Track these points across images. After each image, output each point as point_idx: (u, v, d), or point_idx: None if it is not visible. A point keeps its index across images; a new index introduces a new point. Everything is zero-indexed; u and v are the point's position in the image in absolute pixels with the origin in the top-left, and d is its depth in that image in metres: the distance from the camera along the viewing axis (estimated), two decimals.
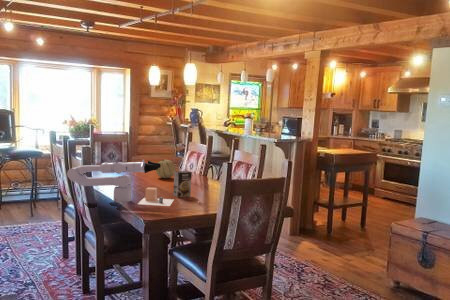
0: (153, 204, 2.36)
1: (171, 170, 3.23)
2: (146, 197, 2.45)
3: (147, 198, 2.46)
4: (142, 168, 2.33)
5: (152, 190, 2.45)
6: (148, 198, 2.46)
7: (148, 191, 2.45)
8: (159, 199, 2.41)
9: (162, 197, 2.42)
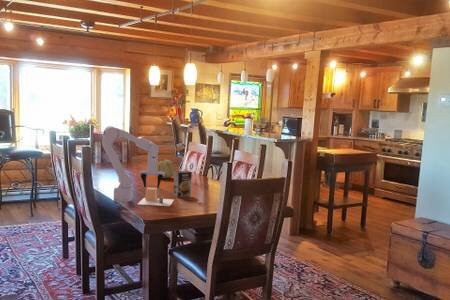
0: (153, 204, 2.36)
1: (171, 170, 3.23)
2: (146, 197, 2.45)
3: (147, 198, 2.46)
4: (164, 174, 2.47)
5: (152, 190, 2.45)
6: (148, 198, 2.46)
7: (148, 191, 2.45)
8: (159, 199, 2.41)
9: (162, 197, 2.42)
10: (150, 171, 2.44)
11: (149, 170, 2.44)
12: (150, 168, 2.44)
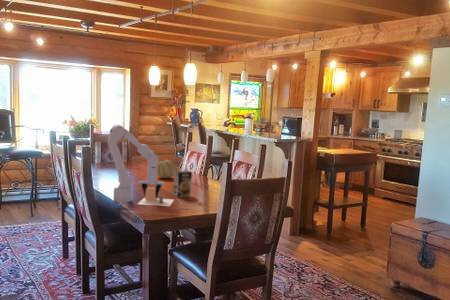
0: (153, 204, 2.36)
1: (171, 170, 3.23)
2: (146, 197, 2.45)
3: (147, 198, 2.46)
4: None
5: (152, 190, 2.45)
6: (148, 198, 2.46)
7: (148, 191, 2.45)
8: (159, 199, 2.41)
9: (162, 197, 2.42)
10: (150, 181, 2.44)
11: (149, 180, 2.45)
12: (150, 178, 2.44)
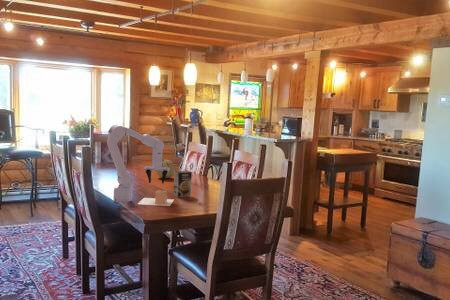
0: (153, 204, 2.36)
1: (171, 170, 3.23)
2: (156, 201, 2.39)
3: (157, 201, 2.39)
4: None
5: (162, 193, 2.38)
6: (158, 201, 2.39)
7: (158, 194, 2.38)
8: None
9: None
10: (155, 167, 2.48)
11: (154, 166, 2.48)
12: (155, 164, 2.48)
